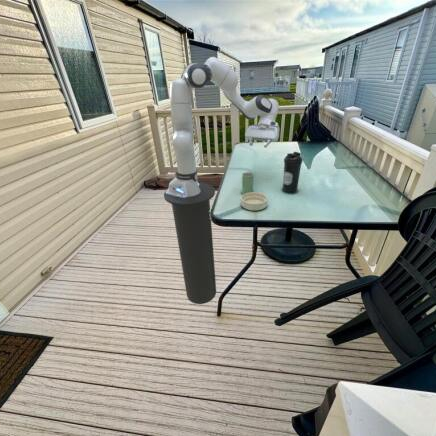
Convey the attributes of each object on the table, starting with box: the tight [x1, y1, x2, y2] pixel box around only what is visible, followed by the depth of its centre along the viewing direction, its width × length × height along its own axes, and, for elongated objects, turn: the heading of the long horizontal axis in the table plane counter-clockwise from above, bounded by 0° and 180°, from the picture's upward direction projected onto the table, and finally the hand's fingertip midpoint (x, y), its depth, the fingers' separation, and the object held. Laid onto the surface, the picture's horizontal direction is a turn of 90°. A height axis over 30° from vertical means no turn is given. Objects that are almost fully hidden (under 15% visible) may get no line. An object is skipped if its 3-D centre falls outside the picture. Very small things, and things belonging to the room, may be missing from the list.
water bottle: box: [282, 151, 304, 195], centre depth 143 cm, size 10×10×23 cm
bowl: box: [240, 191, 268, 212], centre depth 133 cm, size 14×14×4 cm
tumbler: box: [241, 172, 255, 195], centre depth 144 cm, size 7×7×12 cm
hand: (257, 146), depth 143 cm, fingers open, 8 cm apart
